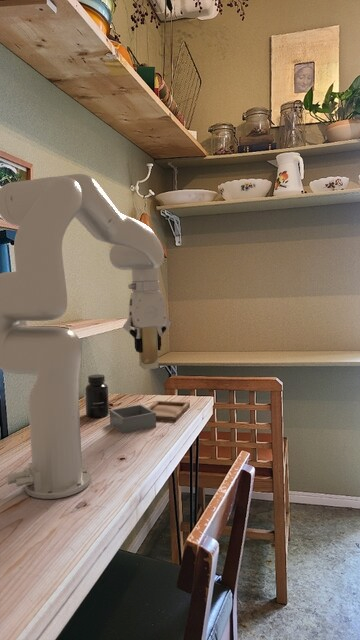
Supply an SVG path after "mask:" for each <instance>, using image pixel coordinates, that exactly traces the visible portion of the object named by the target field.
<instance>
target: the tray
mask: <svg viewBox="0 0 360 640" xmlns="http://www.w3.org/2000/svg"><path fill="white" fill-rule="evenodd" d="M190 406H191V404H190V402H187V401H170V400H169V401H168V400H156V401H154V402H153V403H152V404H151V405H150V406H148V407H147V408H148V409H150V410H152V411H154V412H155V413H156V422H157V421H158V422H169V423H170V422H171V423H172V422H173V423H175V422H177V421H178V420H179V419H180V418H181V417H182V416H183V415H184V414H185V412H187V411H188V409H190ZM140 415H141V414H140Z"/></svg>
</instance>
